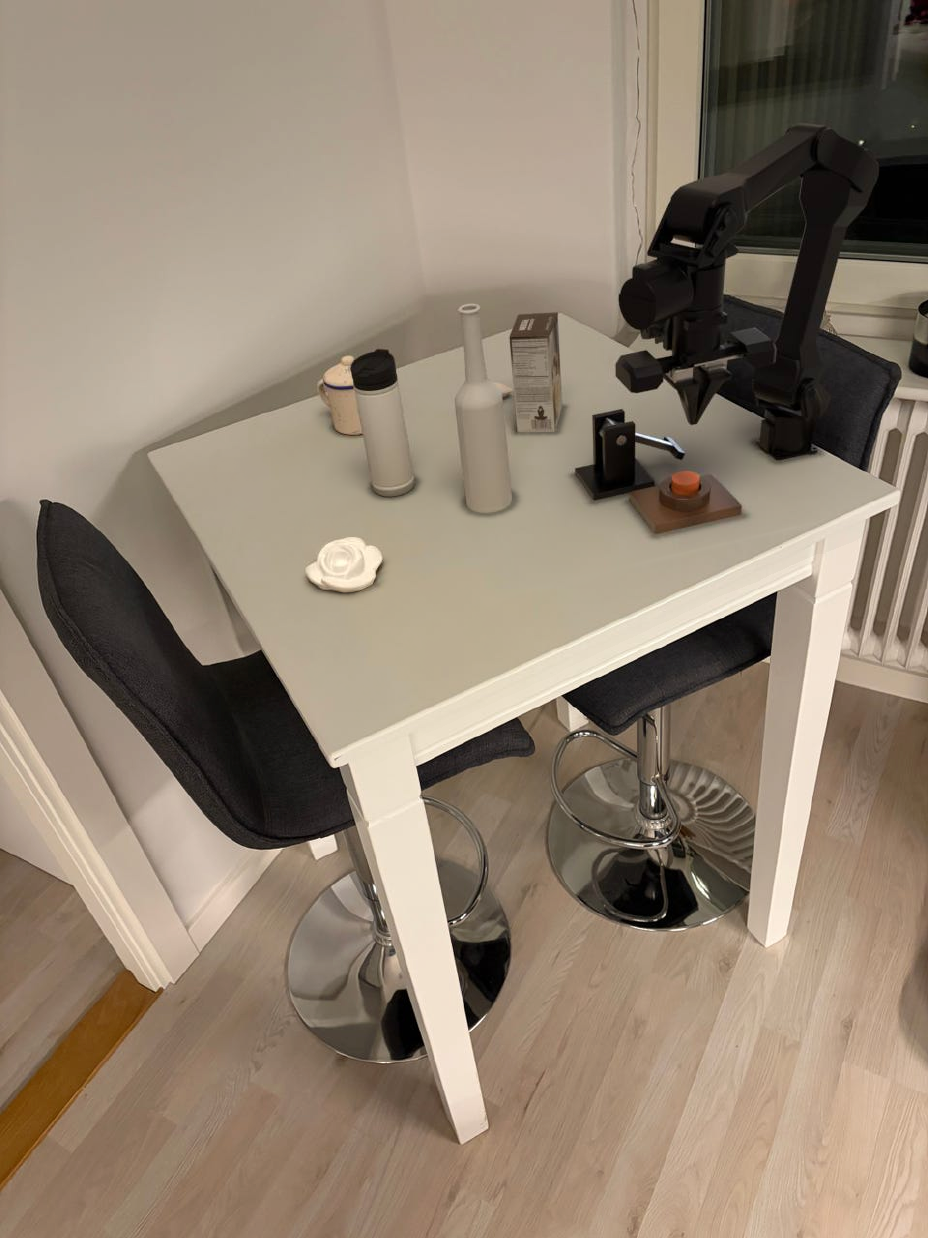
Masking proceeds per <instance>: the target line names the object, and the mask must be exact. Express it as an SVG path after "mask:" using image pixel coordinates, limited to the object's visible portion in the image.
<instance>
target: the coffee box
mask: <svg viewBox="0 0 928 1238" xmlns="http://www.w3.org/2000/svg"><path fill="white" fill-rule="evenodd" d="M508 339H509V349H510V360H511V361H510V362H511V374H512V375H511V376H512V385H513V398H514V410H515V422H516V423H515V424H516V432H517V433H549V432H550V433H551V432H556V430H557V427H558V424H559V420H560V417H561V414H562V413H561V412H562V409H563V395H562V374H561V358H560V357H561V355H560V333H559V312H557V311H555V312H537V313H535V312H534V313H519V314H517V317H516V320H515V322H514V325H513V327H512V329H511V332H510V334H509V337H508Z"/></svg>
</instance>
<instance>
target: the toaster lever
mask: <svg viewBox="0 0 928 1238" xmlns="http://www.w3.org/2000/svg"><path fill="white" fill-rule="evenodd" d="M621 423H623V422H619V421H616V420H612V419H609V418H606V419H605V422H604V424H603V426H602V428H603V427H607V426H612V425H616V424H621ZM602 428H601V430H600V432H599V434H600V435H601V436H602V437H603V431H602ZM635 443H637V444H641V445H644V446H647V447H651V448H655V449H659V450H662V451H665V452H669V454H671V456H673V457H674V458H675V459H676V460H679V461H682V460H683V459H684V457H685V456H686V452H685V451H684V450H683V449H682V448H681V447H680V446H679V444H677V442H675V441H674V439H673V438H671V437H670V436H664V438H663V439H660V438H655V437H652V436H649V435H645V434H642V433H639V432H635Z"/></svg>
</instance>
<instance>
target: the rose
mask: <svg viewBox="0 0 928 1238" xmlns="http://www.w3.org/2000/svg"><path fill="white" fill-rule="evenodd" d="M382 562H383V556H382V553H381V551H380V549H379V548H377V547H376V546H374V545H370V544H369V545H367V544H366V542H365V541H364V540H363V539H362V538H360V537H357V536H349V537H344V538H342V539H336V540H333V541H330V542H328V543H326V544H325V545H323V547H322V548H321V549H320V551H319V552H318V555H317V558H316V561H314V562H312V563H310V564H309V565H307V566H306V567H305V569H304V570H305V571H304V572H305V575H306V577H307V579H308V580H309V581H310V582H311V583H313V584H314V585H316V586H317V587H318V588H320V590H324V591H325V590H326V591H327V590H328V591H336V592H340V593H353V592H359V591H363V590H364V589H366V588H368V587H370V586H373V584H374V582H375V579H376V578H377V574H376V573H377V570H378V569H379V567H380V565H381V564H382Z"/></svg>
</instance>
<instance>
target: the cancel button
mask: <svg viewBox="0 0 928 1238" xmlns="http://www.w3.org/2000/svg"><path fill="white" fill-rule="evenodd" d="M671 476H672V481H671V490H672V492H674V493H676V494H679V495H690V494H695V493H697V492H698V491H699V481H700V477H699V476H700V475H699V474H698V473H697V472H694V471H690V470H680V471H677V472H675V473H674V474H673V475H671Z"/></svg>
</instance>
